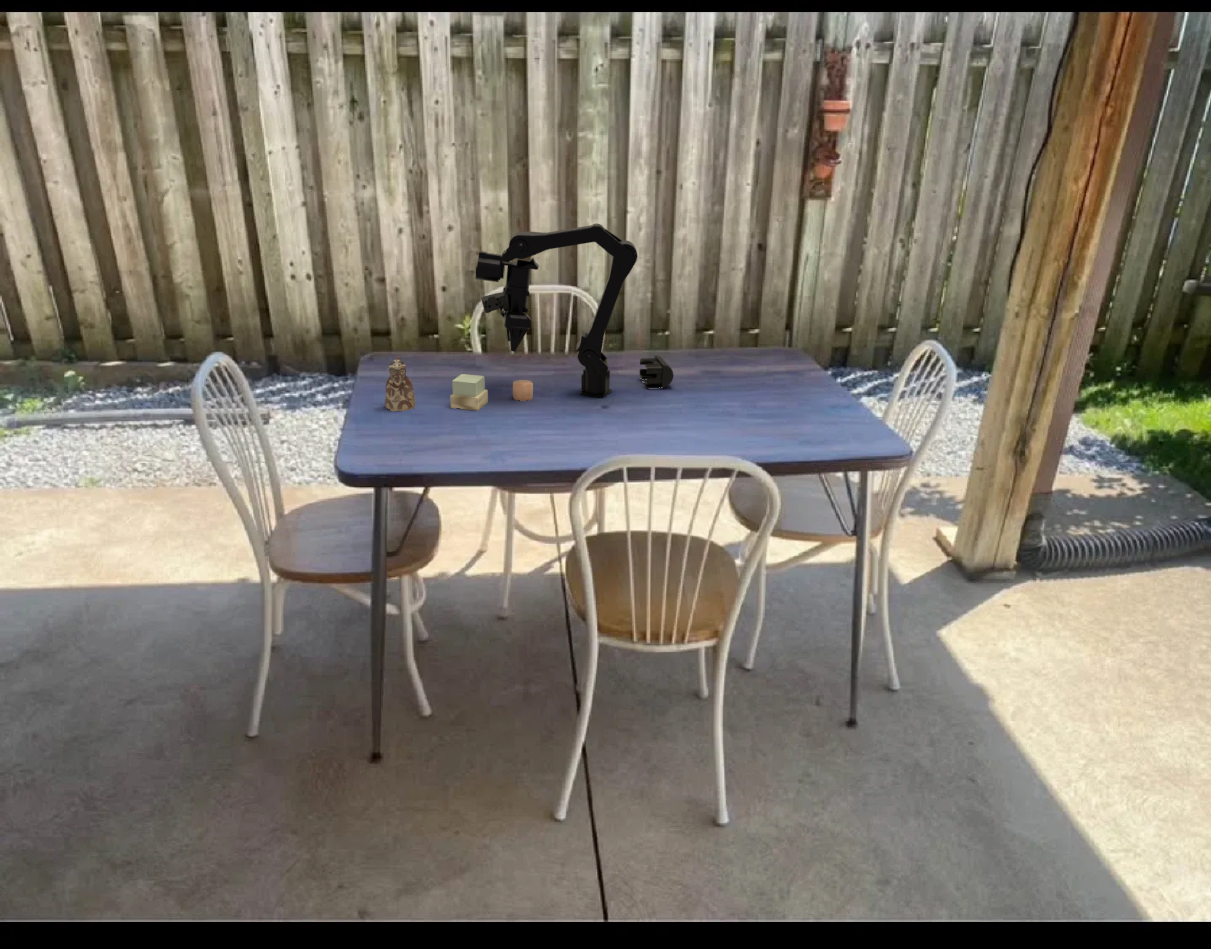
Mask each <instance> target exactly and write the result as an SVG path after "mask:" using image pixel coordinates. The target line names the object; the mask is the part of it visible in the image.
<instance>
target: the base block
mask: <svg viewBox="0 0 1211 949" xmlns="http://www.w3.org/2000/svg"><path fill="white" fill-rule="evenodd" d="M488 402H489V391H488V389H485V390H484V391H483V392H482V393H480V394H479V395H478V396H477V397H471V396H461V395H453V393H451V394H450V408H451V409H456V408H460V409H459V410H468V411H476V412H477V411H479V410H481V409H482V408H483V407H484V406H486V404H488ZM480 408H481V409H480Z"/></svg>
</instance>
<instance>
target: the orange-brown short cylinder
mask: <svg viewBox="0 0 1211 949" xmlns="http://www.w3.org/2000/svg"><path fill="white" fill-rule="evenodd" d="M533 385H534V384H533V381H531V380H529V379H518V380H514V381H513V382H512V398H514V399H513V400H514V401H518V400H520V402H527V401H526V400H528V401H531V400H533V399H534V398H533V397H534V393H533V392H534V386H533ZM532 398H533V399H532Z"/></svg>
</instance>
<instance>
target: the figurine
mask: <svg viewBox="0 0 1211 949" xmlns="http://www.w3.org/2000/svg"><path fill="white" fill-rule="evenodd" d="M389 363H390V364H389V366H388V370H389V377H388V378H387V380H386V383H385V397H384V398H385V399H384V406H385V409H387V408H388V409H390V410H389V411H391V412H394V411H402V412H405V411H404V410H409V411H411V410H410V409H412V410H414V409H415V408H414V407H416V396H415V389H414V384H413V383H412V380H411V379H410V377H408V375H407V368H406V367H407V364H405V362H404V361H403V360H402V358H401V356H396V358H395V359H393V360H392V361H390V362H389ZM413 408H414V409H413ZM388 409H387V410H388Z"/></svg>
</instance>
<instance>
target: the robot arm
mask: <svg viewBox="0 0 1211 949" xmlns="http://www.w3.org/2000/svg"><path fill="white" fill-rule="evenodd" d="M590 243H596V244H597V245H598V246H599V247H601V249H603V250H604V251H605V252H606V253H608V254H609V255H610V256H611V261H610V267H609V268H610V269H609V274H608V277H607V281H606V283H605V286H604V289H603V292H602V295H601V296H600V297H601V298H600V300H599V303H598V305H597V309H596V311H595V314H594V317H593V319H592V323H591V325H590V327H589V329H587V332H586V331H584V330H581V333H580V338H579V341H578V342H577V343H576V352H577V361H578V362H579V364H580V365H582V366H583V367H585V368H584V369H582V374H581V380H580V390H581V391H580V392H579V394H580V395H583V396H590V397H594V398H595V397H596V398H604V397H606V396H607V395H609V394H610V393H612V391H613V389H612V388H610V386H611V385H610V382H611V380H610V379H611V369H609V359H608V358H609V357H607V356H606V355H605V354H604V353H603V352H602V350H603V345H604V339H605V338H604V337H605V333H606V330H607V327H608V324H609V322H610V319H611V317H612V314H613V311H614V309H615V306H616V303H617V300H618V297H619V294H620V292H621V288H622V287H623V283H624V282H625V280H626V278H628V276H629V275H630V273H631V271H632V270H633V268H634V266H635V264H636V262H637V261H638V252H637V248H636V246H635V244H634V243H633V242H631V241H630V240H626V239H625V240H624V239H623V240H622V239H621V238H620V237H618V235H615V233H612V232H611V231H610V230H608V229H607V228H606V227H604V226H603V225H602V224H601V223H593V224H591V225H585V226H579V227H573V228H572V227H571V228H568V229H559V230H555V231H548V232H540V231H517V232H516V233H515V234H513V236H512V237H511V239H510V241H509V243H508V247H507V248H506V249H504V250H503V251H502V253H501V254H499V253H489V252H487V251H481V250H480V251H479V252H478V258H477V265H476V267H475V280H478V281H485V282H486V281H487V282H494V283H500V280H502V279H506V281H505V285H504V286H503V287H502V288H503V289H502V291H501V292H496V293H492V294H488V295H485V296H481V297H480V301H481V303H482V307H483V311H484V313H485V314H490V313H491V312H494V311H498V310H499V313H500V315H501V317H502V318H503V325H504V328H505V330H506V338H507V342H509V344H510V351H511V352H514V353H515V352H516V351H517V350H518V348H519V346H520V344H521V343H522V340H523V339H524V338H525V336H526V334H527V332H528V331H529V330H530V328H531V326H532V319H531V317H530V316H529V315H528V314H527V313H528V312H529V311H528V310H529V308H528V302H529V301H528V300H529V297H530V290H529V289H530V280H531V271H532V270H539V267H540V265H539V264H538V262H536V260H535V257H534V256H536V255H539V254H541V253H542V252H546V251H548V250H553V249H558V248H565V247H571V246H577V245H585V244H590ZM530 257H532V258H530ZM528 258H530V259H529V260H527V259H528ZM515 259H517V261H516V262H515V261H514V260H515ZM506 266H507V268H506ZM505 274H506V278H505Z"/></svg>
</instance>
